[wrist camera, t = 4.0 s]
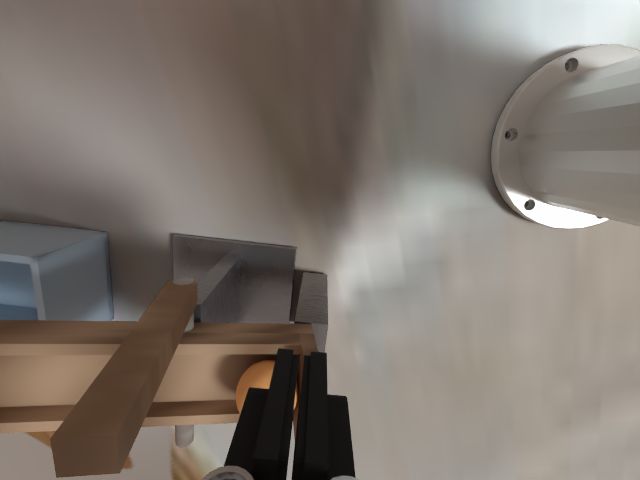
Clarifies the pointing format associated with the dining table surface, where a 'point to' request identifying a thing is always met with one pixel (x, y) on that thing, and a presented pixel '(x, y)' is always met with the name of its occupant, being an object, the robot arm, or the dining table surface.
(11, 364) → the lever
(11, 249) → the bin
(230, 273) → the trestle
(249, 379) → the ball
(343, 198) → the dining table surface
